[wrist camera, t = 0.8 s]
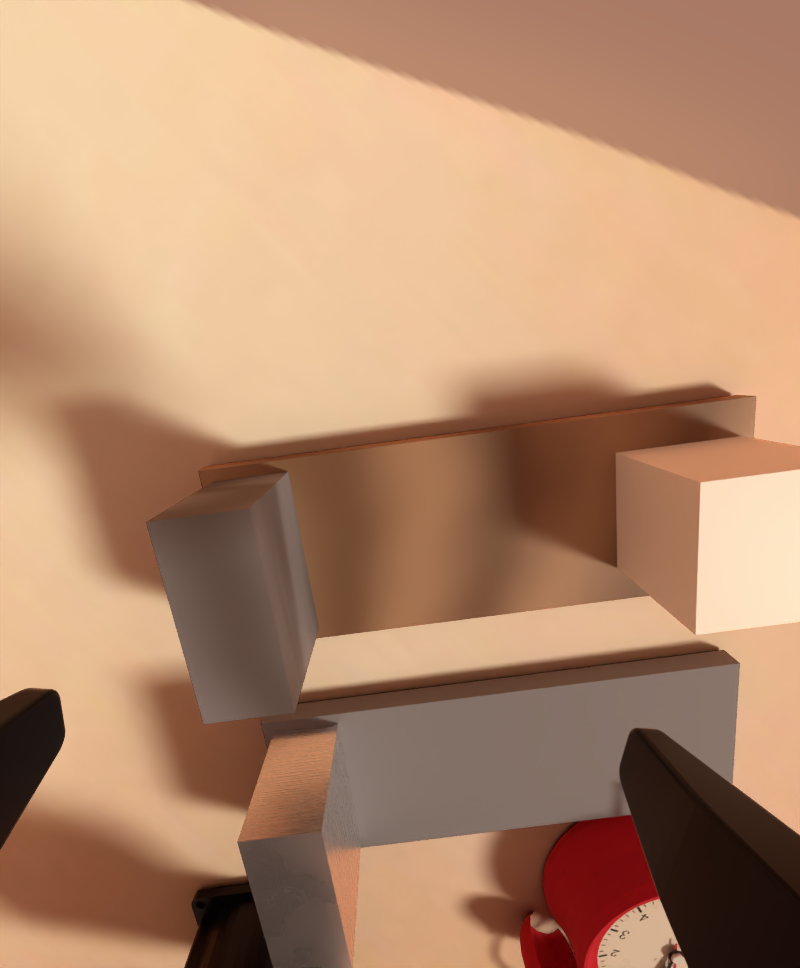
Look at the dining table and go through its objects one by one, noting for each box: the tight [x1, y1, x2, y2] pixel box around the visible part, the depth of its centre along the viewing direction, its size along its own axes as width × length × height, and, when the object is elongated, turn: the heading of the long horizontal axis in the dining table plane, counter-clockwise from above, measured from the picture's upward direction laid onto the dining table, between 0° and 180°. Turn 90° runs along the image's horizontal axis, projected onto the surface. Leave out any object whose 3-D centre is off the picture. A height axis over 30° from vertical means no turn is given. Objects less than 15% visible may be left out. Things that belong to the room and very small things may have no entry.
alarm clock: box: [520, 815, 688, 968], centre depth 23 cm, size 10×6×15 cm
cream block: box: [616, 436, 800, 635], centre depth 16 cm, size 5×5×5 cm
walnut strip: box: [146, 395, 756, 724], centre depth 16 cm, size 22×8×6 cm, turn 97°
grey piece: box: [238, 650, 740, 968], centre depth 19 cm, size 22×8×6 cm, turn 98°
